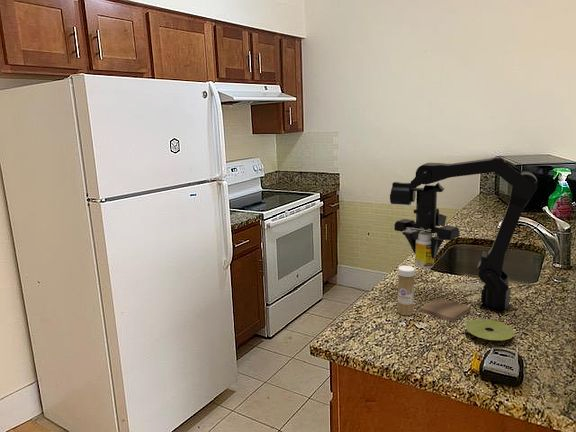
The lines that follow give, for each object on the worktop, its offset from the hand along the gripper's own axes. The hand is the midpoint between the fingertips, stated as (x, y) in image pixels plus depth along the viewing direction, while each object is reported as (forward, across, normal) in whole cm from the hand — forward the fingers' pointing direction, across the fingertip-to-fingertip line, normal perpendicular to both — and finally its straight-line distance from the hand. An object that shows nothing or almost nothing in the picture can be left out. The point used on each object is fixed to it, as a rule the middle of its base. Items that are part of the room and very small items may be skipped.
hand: (424, 256), depth 131 cm
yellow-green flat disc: (+13, -25, +11) cm, 30 cm away
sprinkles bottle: (+13, -2, +14) cm, 19 cm away
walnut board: (+13, -10, +5) cm, 17 cm away
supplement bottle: (+3, 0, 0) cm, 3 cm away
